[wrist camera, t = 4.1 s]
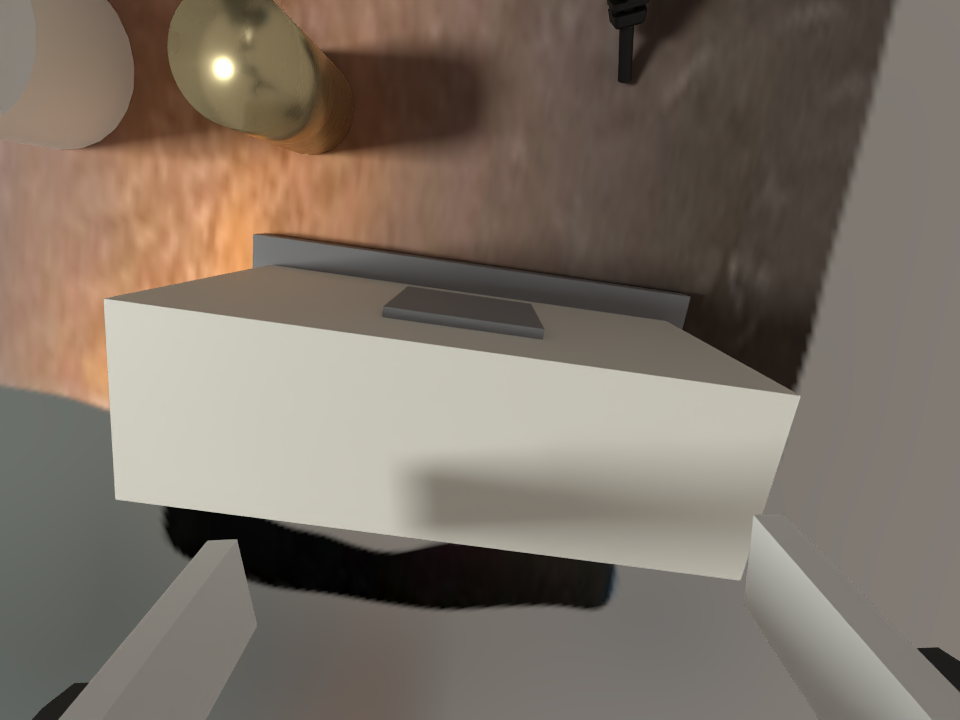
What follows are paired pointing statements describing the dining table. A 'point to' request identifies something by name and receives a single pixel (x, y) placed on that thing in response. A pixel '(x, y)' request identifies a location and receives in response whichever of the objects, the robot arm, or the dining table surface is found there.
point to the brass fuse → (258, 74)
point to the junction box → (444, 407)
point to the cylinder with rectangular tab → (62, 72)
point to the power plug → (626, 30)
